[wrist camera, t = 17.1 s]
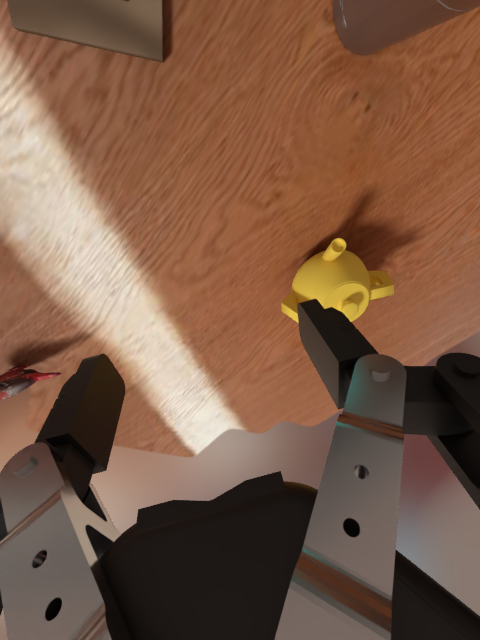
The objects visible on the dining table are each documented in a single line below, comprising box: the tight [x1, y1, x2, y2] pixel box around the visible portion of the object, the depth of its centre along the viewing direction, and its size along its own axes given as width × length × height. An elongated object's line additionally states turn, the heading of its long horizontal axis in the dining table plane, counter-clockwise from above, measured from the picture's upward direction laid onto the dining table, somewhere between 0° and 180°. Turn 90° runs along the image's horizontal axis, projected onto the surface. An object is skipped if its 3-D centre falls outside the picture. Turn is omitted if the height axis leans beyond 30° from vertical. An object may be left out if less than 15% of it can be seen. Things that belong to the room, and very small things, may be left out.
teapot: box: [281, 238, 394, 323], centre depth 44 cm, size 20×18×11 cm
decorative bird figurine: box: [0, 365, 61, 402], centre depth 45 cm, size 3×18×10 cm, turn 106°
